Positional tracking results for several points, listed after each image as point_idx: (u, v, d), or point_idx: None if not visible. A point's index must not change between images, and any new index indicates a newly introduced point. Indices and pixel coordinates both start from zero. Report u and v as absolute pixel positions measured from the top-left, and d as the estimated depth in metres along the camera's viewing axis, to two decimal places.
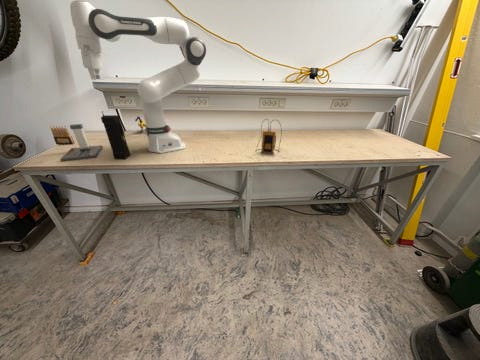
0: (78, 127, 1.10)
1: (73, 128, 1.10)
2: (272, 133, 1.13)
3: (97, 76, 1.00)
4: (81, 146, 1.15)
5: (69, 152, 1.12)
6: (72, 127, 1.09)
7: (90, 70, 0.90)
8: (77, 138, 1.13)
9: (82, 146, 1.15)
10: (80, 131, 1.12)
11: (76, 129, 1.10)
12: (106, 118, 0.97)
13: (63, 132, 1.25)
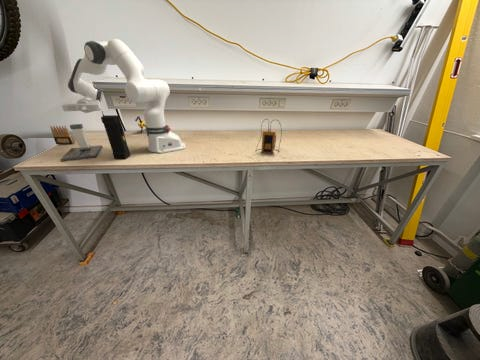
0: (78, 127, 1.10)
1: (73, 128, 1.10)
2: (272, 133, 1.13)
3: None
4: (81, 146, 1.15)
5: (69, 152, 1.12)
6: (72, 127, 1.09)
7: None
8: (77, 138, 1.13)
9: (82, 146, 1.15)
10: (80, 131, 1.12)
11: (76, 129, 1.10)
12: (106, 118, 0.97)
13: (63, 132, 1.25)
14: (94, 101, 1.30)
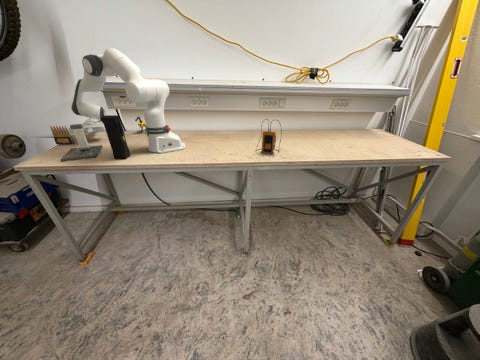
0: (78, 127, 1.10)
1: (73, 128, 1.10)
2: (272, 133, 1.13)
3: None
4: (81, 146, 1.15)
5: (69, 152, 1.12)
6: (72, 127, 1.09)
7: None
8: (77, 138, 1.13)
9: (82, 146, 1.15)
10: (80, 131, 1.12)
11: (76, 129, 1.10)
12: (106, 118, 0.97)
13: (63, 132, 1.25)
14: (99, 122, 1.33)
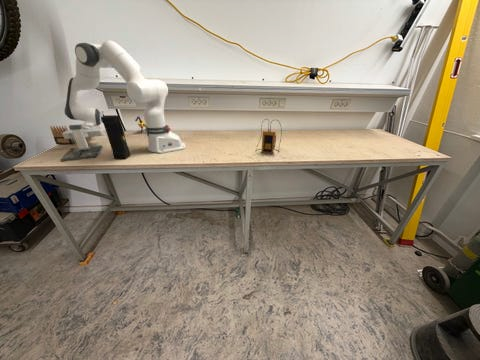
0: (77, 128, 1.09)
1: (72, 129, 1.08)
2: (272, 133, 1.13)
3: None
4: (80, 147, 1.14)
5: (69, 152, 1.12)
6: (71, 128, 1.08)
7: None
8: (76, 139, 1.11)
9: (81, 147, 1.14)
10: (79, 132, 1.10)
11: (75, 130, 1.09)
12: (106, 118, 0.97)
13: None
14: (96, 126, 1.24)
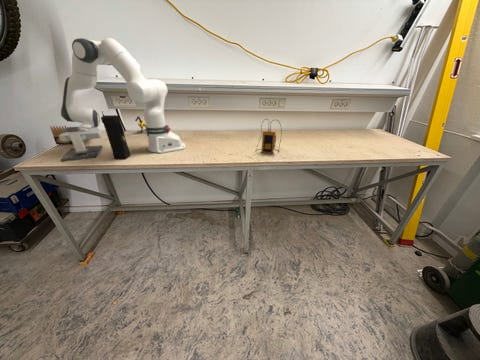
0: (74, 130, 1.05)
1: (69, 131, 1.04)
2: (272, 133, 1.13)
3: None
4: (78, 150, 1.10)
5: (69, 152, 1.12)
6: (68, 130, 1.04)
7: None
8: (73, 141, 1.07)
9: (79, 150, 1.10)
10: (76, 134, 1.06)
11: (72, 132, 1.05)
12: (106, 118, 0.97)
13: (63, 132, 1.25)
14: (94, 128, 1.19)
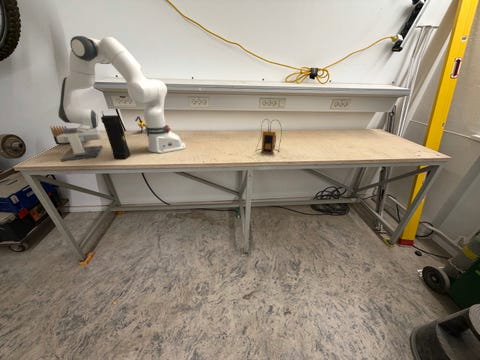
0: (72, 131, 1.02)
1: (67, 133, 1.02)
2: (272, 133, 1.13)
3: None
4: (76, 152, 1.07)
5: (69, 152, 1.12)
6: (66, 131, 1.01)
7: None
8: (71, 143, 1.05)
9: (77, 152, 1.07)
10: (75, 136, 1.04)
11: (70, 134, 1.02)
12: (106, 118, 0.97)
13: (63, 132, 1.25)
14: (92, 129, 1.17)
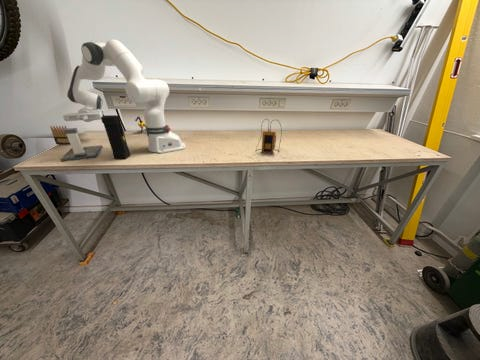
0: (72, 131, 1.02)
1: (67, 133, 1.02)
2: (272, 133, 1.13)
3: None
4: (76, 152, 1.07)
5: (69, 152, 1.12)
6: (66, 132, 1.01)
7: None
8: (71, 143, 1.04)
9: (77, 152, 1.07)
10: (74, 136, 1.03)
11: (70, 134, 1.02)
12: (106, 118, 0.97)
13: (63, 132, 1.25)
14: (95, 110, 1.29)
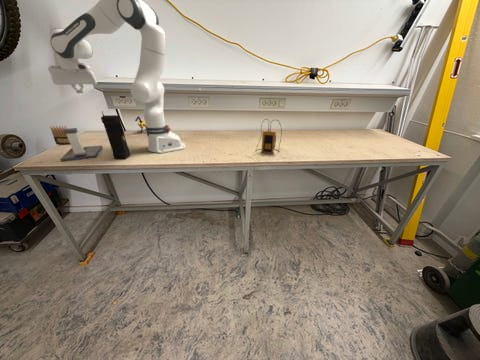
0: (72, 131, 1.02)
1: (67, 133, 1.02)
2: (272, 133, 1.13)
3: None
4: (76, 152, 1.07)
5: (69, 152, 1.12)
6: (66, 132, 1.01)
7: None
8: (71, 143, 1.04)
9: (77, 152, 1.07)
10: (74, 136, 1.03)
11: (70, 134, 1.02)
12: (106, 118, 0.97)
13: (63, 132, 1.25)
14: (84, 70, 1.08)
